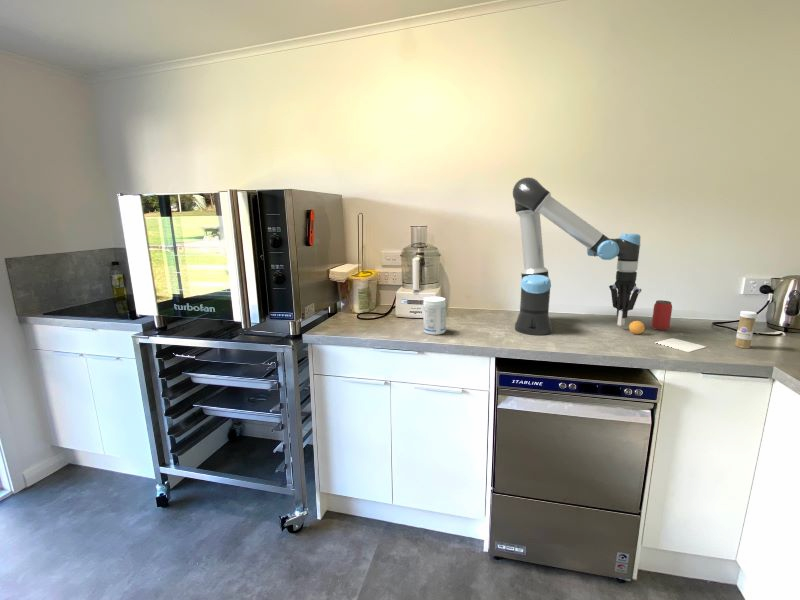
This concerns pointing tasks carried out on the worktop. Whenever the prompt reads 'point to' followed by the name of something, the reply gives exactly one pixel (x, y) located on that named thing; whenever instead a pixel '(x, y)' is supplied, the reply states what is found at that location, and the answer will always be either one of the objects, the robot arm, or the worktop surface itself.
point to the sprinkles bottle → (745, 329)
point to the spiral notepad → (681, 345)
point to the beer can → (662, 315)
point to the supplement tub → (434, 315)
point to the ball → (636, 327)
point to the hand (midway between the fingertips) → (620, 324)
